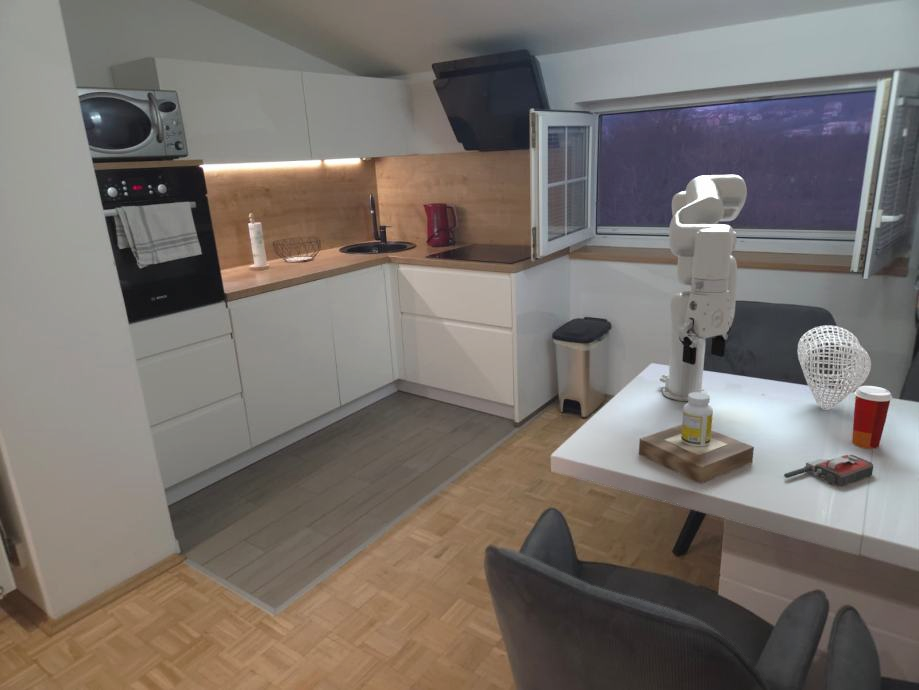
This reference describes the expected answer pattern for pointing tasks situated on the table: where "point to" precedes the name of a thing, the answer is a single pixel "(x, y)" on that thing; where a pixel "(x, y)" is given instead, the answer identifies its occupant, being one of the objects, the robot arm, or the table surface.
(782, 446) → the table surface
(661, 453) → the stand
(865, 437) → the paper cup
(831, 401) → the heart
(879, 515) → the table surface
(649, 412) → the table surface
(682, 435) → the pill bottle
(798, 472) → the walkie-talkie
